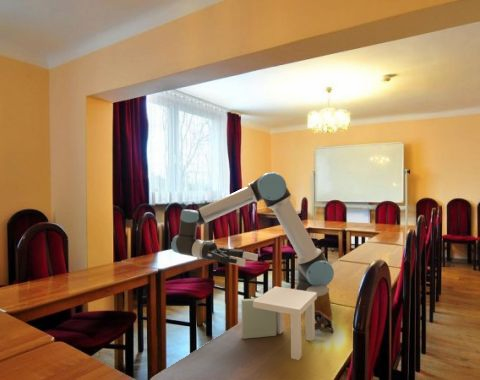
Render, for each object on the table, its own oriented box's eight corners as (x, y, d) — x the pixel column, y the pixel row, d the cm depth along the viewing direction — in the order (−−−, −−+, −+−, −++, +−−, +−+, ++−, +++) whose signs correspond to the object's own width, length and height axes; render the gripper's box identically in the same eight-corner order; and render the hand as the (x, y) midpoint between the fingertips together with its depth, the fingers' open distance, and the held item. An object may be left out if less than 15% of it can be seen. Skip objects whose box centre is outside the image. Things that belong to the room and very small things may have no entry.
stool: (275, 328, 122) (275, 286, 122) (317, 337, 114) (316, 292, 114) (253, 349, 107) (253, 301, 107) (300, 362, 99) (299, 309, 99)
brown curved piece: (338, 338, 115) (328, 320, 113) (313, 348, 117) (303, 330, 115) (331, 316, 127) (321, 300, 125) (309, 325, 128) (299, 309, 127)
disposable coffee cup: (317, 312, 139) (310, 285, 139) (339, 311, 133) (331, 283, 134) (309, 322, 131) (301, 293, 132) (331, 321, 126) (323, 291, 126)
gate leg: (277, 332, 118) (276, 296, 118) (278, 335, 116) (278, 298, 116) (242, 336, 116) (241, 299, 116) (243, 338, 114) (242, 301, 114)
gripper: (217, 254, 149) (260, 264, 140) (188, 263, 126) (237, 275, 117) (219, 238, 149) (263, 247, 140) (190, 244, 126) (240, 255, 117)
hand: (251, 260), depth 129 cm, fingers open, 13 cm apart
